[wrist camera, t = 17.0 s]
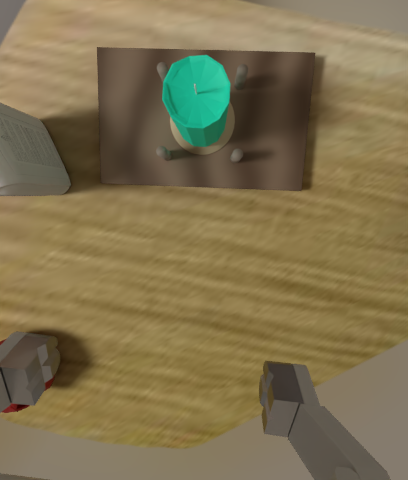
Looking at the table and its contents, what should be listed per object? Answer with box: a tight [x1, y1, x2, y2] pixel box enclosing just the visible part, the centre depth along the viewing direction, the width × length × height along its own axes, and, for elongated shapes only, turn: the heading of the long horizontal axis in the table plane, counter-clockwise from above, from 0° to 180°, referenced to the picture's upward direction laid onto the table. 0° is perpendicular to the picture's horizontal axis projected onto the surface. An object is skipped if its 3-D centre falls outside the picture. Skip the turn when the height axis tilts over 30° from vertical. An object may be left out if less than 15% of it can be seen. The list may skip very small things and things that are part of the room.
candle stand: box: [97, 47, 315, 191], centre depth 33 cm, size 26×16×6 cm, turn 88°
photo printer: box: [0, 103, 71, 196], centre depth 31 cm, size 10×4×12 cm, turn 22°
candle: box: [162, 55, 230, 147], centre depth 28 cm, size 6×6×12 cm
